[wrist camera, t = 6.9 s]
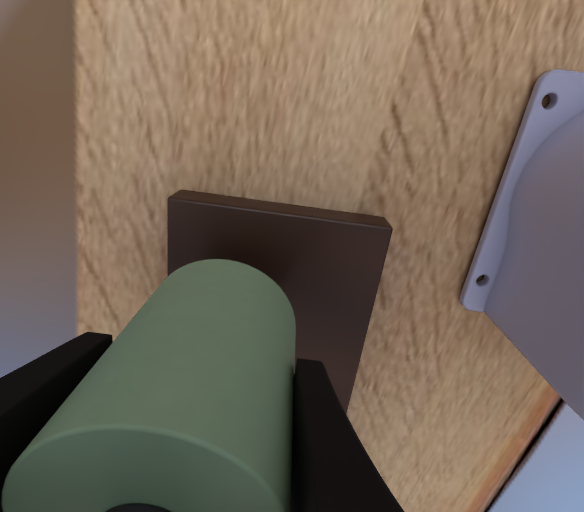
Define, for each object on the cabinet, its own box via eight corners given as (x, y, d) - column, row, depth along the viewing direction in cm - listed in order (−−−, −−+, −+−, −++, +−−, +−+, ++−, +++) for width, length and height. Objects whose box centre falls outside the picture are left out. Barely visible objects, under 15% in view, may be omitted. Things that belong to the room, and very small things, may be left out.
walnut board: (311, 523, 22) (312, 550, 21) (176, 507, 22) (167, 534, 21) (385, 216, 15) (393, 227, 13) (179, 188, 14) (166, 197, 13)
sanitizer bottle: (286, 390, 12) (265, 761, 5) (151, 373, 12) (-52, 729, 5) (305, 269, 10) (312, 582, 3) (148, 248, 10) (-165, 530, 3)
